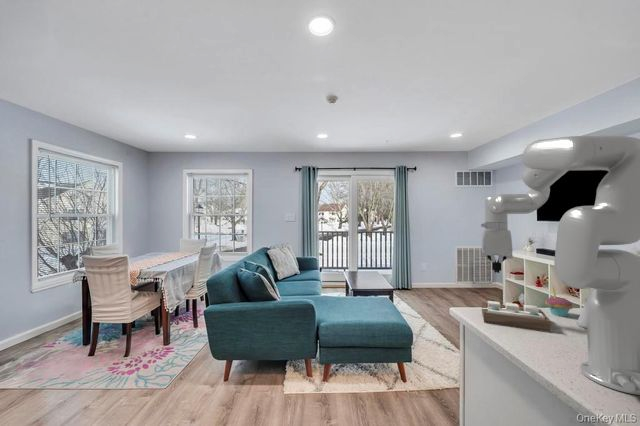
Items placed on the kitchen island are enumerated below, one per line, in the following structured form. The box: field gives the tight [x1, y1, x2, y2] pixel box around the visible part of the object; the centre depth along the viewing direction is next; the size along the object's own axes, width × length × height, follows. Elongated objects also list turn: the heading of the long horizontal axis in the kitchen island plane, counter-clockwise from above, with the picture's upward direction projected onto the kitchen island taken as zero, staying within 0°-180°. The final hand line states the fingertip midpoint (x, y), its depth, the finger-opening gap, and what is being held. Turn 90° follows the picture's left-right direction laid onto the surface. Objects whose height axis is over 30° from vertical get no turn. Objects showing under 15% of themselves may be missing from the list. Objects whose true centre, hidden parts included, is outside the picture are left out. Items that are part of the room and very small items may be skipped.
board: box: [481, 302, 552, 333], centre depth 105 cm, size 14×20×5 cm
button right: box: [523, 304, 539, 313], centre depth 103 cm, size 4×4×3 cm
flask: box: [576, 298, 587, 329], centre depth 99 cm, size 7×7×10 cm
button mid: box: [504, 302, 520, 311], centre depth 106 cm, size 4×4×3 cm
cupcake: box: [545, 285, 574, 317], centre depth 112 cm, size 9×8×12 cm
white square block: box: [487, 300, 501, 308], centre depth 109 cm, size 4×4×3 cm
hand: (496, 272), depth 108 cm, fingers closed
